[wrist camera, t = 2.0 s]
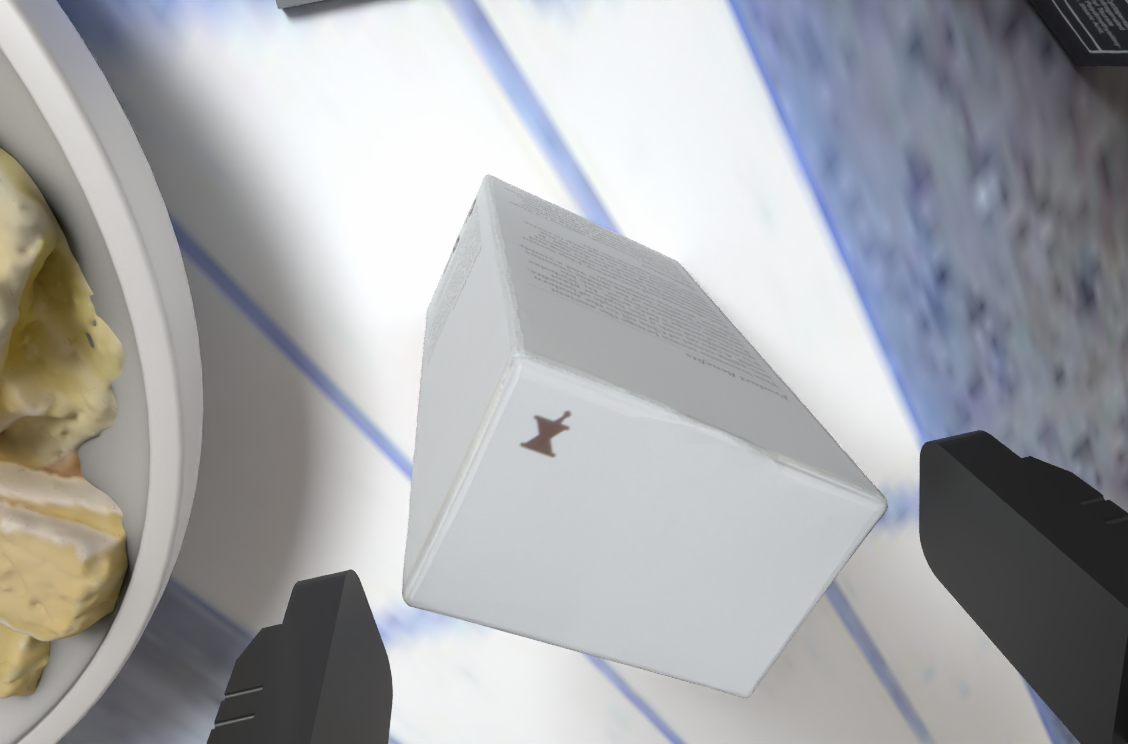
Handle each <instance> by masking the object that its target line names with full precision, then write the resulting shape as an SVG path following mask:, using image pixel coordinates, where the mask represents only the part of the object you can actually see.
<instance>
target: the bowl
mask: <svg viewBox="0 0 1128 744" xmlns="http://www.w3.org/2000/svg"><path fill="white" fill-rule="evenodd" d="M202 427H203V379H202V365H201V355H200V346H199V337H198V330H197V325H196V319H195V313H194V308H193V302H192V297H191V292H190V287H189V283H188V279H187V275H186V272H185V268H184V264H183V260H182V256H181V252H180V248H179V245H178V242H177V239H176V236H175V233H174V230H173V227H172V224H171V220H170V217H169V214H168V211H167V208H166V206H165V203H164V201H163V198H162V196H161V193H160V190H159V188H158V185H157V183H156V180H155V178H154V175H153V173H152V170H151V168H150V165H149V163H148V161H147V159H146V157H145V155H144V152H143V150H142V148H141V146H140V144H139V142H138V139H137V137H136V135H135V133H134V131H133V129H132V127H131V124H130V122H129V120H128V119H127V117H126V115H125V113H124V111H123V109H122V107H121V105H120V104H119V102H118V100H117V98H116V96H115V94H114V92H113V91H112V89H111V87H110V85H109V83H108V81H107V79H106V78H105V76H104V74H103V72H102V71H101V69H100V68H99V66H98V64H97V63H96V61H95V59H94V58H93V56H92V54H91V53H90V51H89V50H88V48H87V46H86V45H85V43H84V41H83V40H82V38H81V36H80V35H79V33H78V32H77V30H76V28H75V27H74V25H73V24H72V23H71V21H70V20H69V18H68V17H67V15H66V14H65V12H64V11H63V9H62V8H61V7H60V5H59V4H58V2H57V1H56V0H0V744H57V743H58V742H59V741H60V740H61V739H62V738H63V737H64V736H65V735H66V734H67V733H68V732H69V731H70V730H71V729H72V728H74V727H75V726H76V725H77V724H78V723H79V722H80V721H81V720H82V718H83V717H84V716H85V715H86V714H87V713H88V712H89V710H90V709H91V708H92V707H93V706H94V705H95V704H96V702H97V701H98V700H99V699H100V698H101V697H102V695H103V694H104V693H105V691H106V690H107V689H108V687H109V686H110V685H111V683H112V682H113V681H114V679H115V678H116V677H117V675H118V674H119V673H120V671H121V670H122V668H123V666H124V665H125V663H126V662H127V660H128V658H129V657H130V655H131V653H132V652H133V650H134V649H135V647H136V645H137V644H138V642H139V640H140V638H141V636H142V634H143V632H144V630H145V628H146V626H147V625H148V623H149V621H150V619H151V617H152V615H153V613H154V611H155V609H156V607H157V605H158V603H159V601H160V599H161V597H162V595H163V592H164V590H165V588H166V586H167V583H168V581H169V578H170V576H171V573H172V571H173V568H174V566H175V563H176V561H177V558H178V555H179V552H180V549H181V546H182V542H183V539H184V536H185V533H186V529H187V526H188V522H189V518H190V514H191V510H192V505H193V500H194V496H195V491H196V486H197V480H198V472H199V464H200V456H201V447H202Z"/></svg>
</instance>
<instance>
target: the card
mask: <svg viewBox="0 0 1128 744" xmlns="http://www.w3.org/2000/svg"><path fill="white" fill-rule="evenodd" d="M319 1H324V0H276V3H277V6H278V9H284V8H289V7H294V6H299V5H304V4H309V3H314V2H319Z"/></svg>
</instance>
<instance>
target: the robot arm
mask: <svg viewBox="0 0 1128 744" xmlns="http://www.w3.org/2000/svg"><path fill="white" fill-rule="evenodd" d="M919 533H920V541H921V546H922V549H923V553H924V555H925V558H926V560H927V562H928V565H929V566H930V568H931V570H932V572H933V573H934V575H935V576H936V577H937V578H938V580H939V581H940V582H941V583H942V584H943V585H944V587H945V588H946V589H947V590H948V591H949V592H950V594H951V595H952V596H953V597H954V598H955V599H956V600H957V602H958V603H959V604H960V605H961V606H962V607H963V609H964V610H965V611H966V612H967V613H968V614H969V615H970V617H971V618H972V619H973V620H974V621H975V622H976V623H977V625H978V626H979V627H980V628H981V629H982V630H983V632H984V633H985V634H986V635H987V636H988V637H989V638H990V640H991V641H992V642H993V643H994V644H995V645H996V647H997V648H998V649H999V650H1000V651H1001V652H1002V653H1003V655H1004V656H1005V657H1006V658H1007V659H1008V660H1009V662H1010V663H1011V664H1012V665H1013V666H1014V667H1015V668H1016V670H1017V671H1018V672H1019V673H1020V674H1021V675H1022V676H1023V678H1024V679H1025V680H1026V681H1027V682H1028V683H1029V685H1030V686H1031V687H1032V688H1033V689H1034V690H1035V691H1036V693H1037V694H1038V695H1039V696H1040V697H1041V698H1042V700H1043V701H1044V702H1045V703H1046V704H1047V705H1048V706H1049V708H1050V709H1051V710H1052V711H1053V712H1054V713H1055V715H1056V716H1057V717H1058V718H1059V719H1060V720H1061V721H1062V723H1063V724H1064V725H1065V726H1066V727H1067V728H1068V729H1069V731H1070V732H1071V733H1072V734H1073V735H1074V736H1075V738H1076V739H1077V740H1078V741H1079V742H1080V743H1081V744H1128V513H1127V512H1126V511H1124V510H1123V509H1121V508H1120V507H1119V506H1117V505H1116V504H1115V503H1113V502H1112V501H1110V500H1106V501H1105V500H1104V498H1103V495H1102V494H1101V493H1099V492H1098V491H1097V490H1095V489H1094V488H1092V487H1091V486H1090V485H1088V484H1087V483H1086V482H1084V481H1083V480H1081V479H1080V478H1079V477H1077V476H1076V475H1075V474H1073V473H1072V472H1069V471H1067V470H1064V469H1062V468H1059V467H1056V466H1054V465H1051V464H1049V463H1046V462H1044V461H1041V460H1039V459H1036V458H1033V457H1031V456H1029V457H1025V458H1020V457H1019V456H1018V455H1016V454H1015V453H1014V452H1012V451H1011V450H1010V449H1009V448H1007V447H1006V446H1005V445H1003V444H1002V443H1001V442H999V441H998V440H997V439H995V438H994V437H993V436H992V435H990V434H989V433H987V432H985V431H981V430H978V431H974V432H969V433H965V434H960V435H956V436H951V437H947V438H942V439H938V440H933V441H929V442H926V443H925V444H924V445H923V446H922V449H921V453H920V504H919ZM392 699H393V688H392V677H391V670H390V664H389V660H388V656H387V653H386V650H385V647H384V644H383V642H382V639H381V636H380V633H379V631H378V628H377V625H376V623H375V620H374V617H373V614H372V612H371V609H370V606H369V603H368V601H367V598H366V595H365V592H364V590H363V587H362V584H361V582H360V579H359V577H358V575H357V574H356V572H355V571H353V570H347V571H343V572H338V573H334V574H330V575H325V576H321V577H316V578H312V579H307V580H303V581H298V582H297V583H296V584H295V585H294V587H293V590H292V593H291V597H290V600H289V603H288V606H287V610H286V613H285V616H284V620H283V623H282V624H279V625H275V626H270V627H266V628H262V629H261V631H260V632H259V633H258V634H257V636H256V637H255V638H254V639H253V641H252V642H251V643H250V644H249V646H248V647H247V648H246V649H245V650H244V652H243V653H242V654H241V655H240V657H239V658H238V659H237V660H236V663H235V666H234V669H233V672H232V674H231V677H230V680H229V683H228V685H227V688H226V691H225V700H223V701H222V702H221V705H220V708H219V711H218V713H217V716H216V719H215V722H214V723H215V729H212V730H211V733H210V736H209V738H208V741H207V744H388V739H389V729H390V720H391V710H392Z"/></svg>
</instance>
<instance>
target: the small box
mask: <svg viewBox="0 0 1128 744" xmlns="http://www.w3.org/2000/svg"><path fill="white" fill-rule="evenodd" d="M1030 1H1031V3H1032V4H1033V5H1034V7H1035V8H1036V9H1037V11H1038V12H1039V14H1040V15H1041V17H1042V18H1043V19H1044V21H1045V22H1046V23H1047V24H1048V26H1049V27H1050V29H1051V30H1052V32H1053V33H1054V34H1055V35H1056V37H1057V39H1058V40H1059V41H1060V42H1061V44H1062V45H1063V46H1064V48H1065V49H1066V51H1067V52H1068V53H1069V55H1070V56H1071V58H1072V59H1073V61H1074V63H1075V64H1076V66H1128V0H1030Z"/></svg>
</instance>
